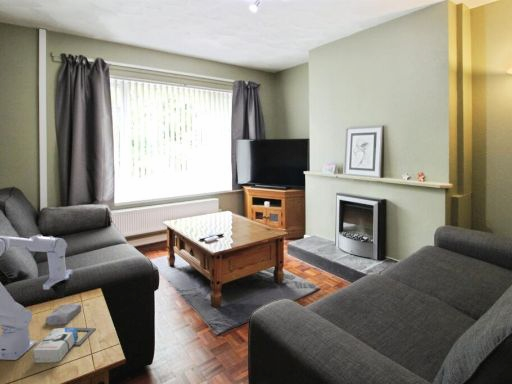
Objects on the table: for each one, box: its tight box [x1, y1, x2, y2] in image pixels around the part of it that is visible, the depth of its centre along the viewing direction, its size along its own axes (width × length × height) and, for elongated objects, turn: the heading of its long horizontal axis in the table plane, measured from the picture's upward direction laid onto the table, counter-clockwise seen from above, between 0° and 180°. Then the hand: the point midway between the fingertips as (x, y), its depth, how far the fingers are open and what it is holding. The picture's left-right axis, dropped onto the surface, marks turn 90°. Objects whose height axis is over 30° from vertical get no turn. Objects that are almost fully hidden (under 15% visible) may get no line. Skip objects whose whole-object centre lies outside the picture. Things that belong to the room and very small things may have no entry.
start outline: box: [61, 326, 97, 347], centre depth 115 cm, size 10×14×1 cm
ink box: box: [32, 327, 79, 364], centre depth 107 cm, size 8×5×12 cm
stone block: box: [45, 303, 82, 326], centre depth 129 cm, size 12×5×10 cm
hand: (60, 297), depth 124 cm, fingers closed
